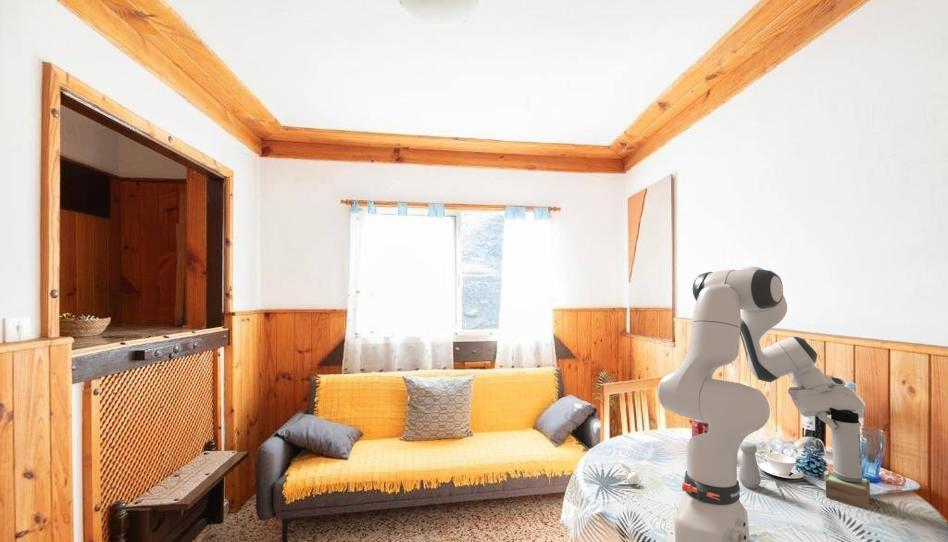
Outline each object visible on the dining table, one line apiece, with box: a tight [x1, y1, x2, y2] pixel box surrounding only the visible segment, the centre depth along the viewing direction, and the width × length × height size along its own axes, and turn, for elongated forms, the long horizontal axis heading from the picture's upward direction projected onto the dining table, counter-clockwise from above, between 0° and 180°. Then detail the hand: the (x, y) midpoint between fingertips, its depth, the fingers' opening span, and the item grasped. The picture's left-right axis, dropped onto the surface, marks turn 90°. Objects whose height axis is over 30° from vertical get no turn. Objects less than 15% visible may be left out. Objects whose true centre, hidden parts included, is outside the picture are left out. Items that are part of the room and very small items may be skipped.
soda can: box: [691, 419, 709, 438], centre depth 155 cm, size 7×7×12 cm
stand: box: [825, 470, 871, 510], centre depth 121 cm, size 9×9×5 cm
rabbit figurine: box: [613, 460, 642, 488], centre depth 131 cm, size 6×4×8 cm
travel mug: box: [830, 408, 863, 482], centre depth 121 cm, size 6×7×20 cm
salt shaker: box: [738, 441, 762, 490], centre depth 129 cm, size 6×6×13 cm
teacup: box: [758, 452, 805, 479], centre depth 137 cm, size 12×12×5 cm
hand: (846, 427), depth 121 cm, fingers closed on travel mug, 6 cm apart
